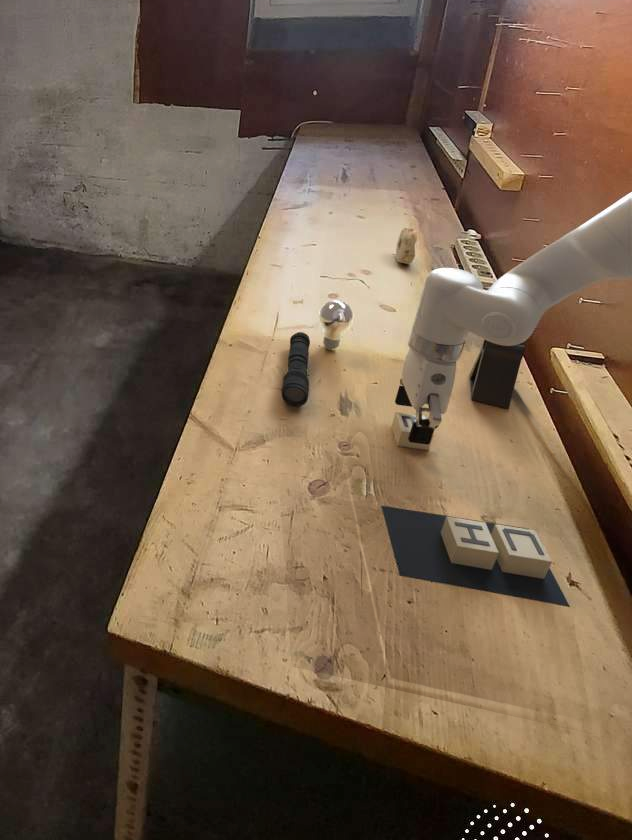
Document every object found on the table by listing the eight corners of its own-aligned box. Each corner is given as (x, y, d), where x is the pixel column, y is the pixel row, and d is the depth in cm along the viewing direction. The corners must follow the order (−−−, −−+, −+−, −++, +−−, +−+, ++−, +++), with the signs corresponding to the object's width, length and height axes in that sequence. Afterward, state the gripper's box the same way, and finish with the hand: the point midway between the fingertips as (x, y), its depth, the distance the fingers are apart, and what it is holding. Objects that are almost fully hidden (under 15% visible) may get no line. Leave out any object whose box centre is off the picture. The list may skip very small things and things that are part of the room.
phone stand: (508, 409, 106) (527, 357, 100) (470, 400, 108) (488, 348, 103) (504, 383, 113) (522, 333, 107) (469, 375, 115) (485, 325, 110)
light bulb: (347, 359, 122) (357, 312, 116) (313, 354, 124) (321, 307, 118) (345, 342, 128) (355, 296, 122) (313, 338, 130) (321, 292, 124)
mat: (528, 530, 82) (529, 528, 82) (569, 608, 72) (570, 606, 72) (380, 507, 87) (381, 505, 87) (399, 577, 77) (399, 575, 76)
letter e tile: (421, 430, 102) (425, 415, 100) (429, 450, 97) (433, 434, 96) (391, 427, 103) (395, 411, 101) (397, 446, 98) (401, 430, 97)
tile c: (527, 547, 80) (535, 529, 78) (544, 579, 75) (552, 561, 74) (488, 540, 81) (495, 523, 79) (501, 571, 76) (509, 554, 75)
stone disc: (392, 253, 169) (399, 222, 164) (406, 254, 168) (413, 223, 163) (397, 268, 160) (405, 235, 156) (412, 269, 159) (420, 237, 155)
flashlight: (279, 404, 109) (282, 383, 107) (287, 347, 127) (289, 328, 124) (306, 409, 108) (310, 388, 105) (310, 351, 125) (313, 332, 123)
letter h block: (478, 539, 81) (485, 521, 79) (491, 570, 77) (499, 552, 75) (440, 532, 82) (446, 515, 81) (451, 563, 78) (457, 545, 76)
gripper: (481, 377, 83) (450, 462, 90) (445, 317, 98) (421, 394, 105) (425, 370, 84) (399, 455, 92) (398, 312, 99) (378, 389, 107)
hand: (411, 422), depth 99 cm, fingers open, 9 cm apart
